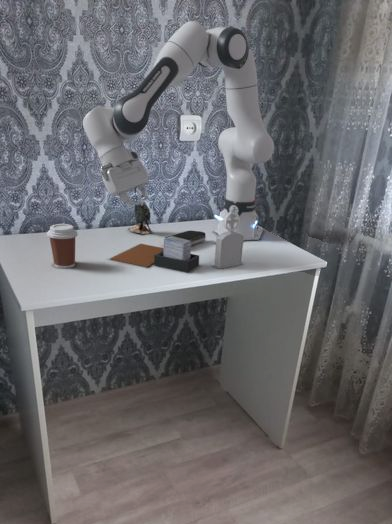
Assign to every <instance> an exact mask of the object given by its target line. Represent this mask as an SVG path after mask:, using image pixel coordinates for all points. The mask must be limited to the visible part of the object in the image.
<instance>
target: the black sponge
mask: <svg viewBox="0 0 392 524" xmlns="http://www.w3.org/2000/svg"><path fill="white" fill-rule="evenodd" d="M171 236H173V237H178V238H182V239H186V240H190V241H191V246H192V245H196V244H199V243H201V242H204V241H205V240H206V238H207V237H206V236H207V235H206V232H204V231H199V230H198V231H197V230H185V231H182V232H179V233H176V234H172V235H168V236H165V237H164V239H165V238H167V237H171Z"/></svg>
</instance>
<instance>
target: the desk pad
mask: <svg viewBox="0 0 392 524" xmlns="http://www.w3.org/2000/svg"><path fill="white" fill-rule="evenodd" d="M163 250H164V247H160V246H155V245H150V244H144V243H140V244H137V245H136V246H133V247H131V248H129V249H127V250H125V251H122V252H120V253H119V254H117V255H114V256H113V257H110V258H109V260H110V261H115V262H119V263H125V264H129V265H133V266H138V267H142V268H150V267H151V266H154V255H156V254H158V253H159V252H161V251H163Z"/></svg>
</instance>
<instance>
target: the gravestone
mask: <svg viewBox="0 0 392 524" xmlns="http://www.w3.org/2000/svg"><path fill="white" fill-rule="evenodd" d="M235 216H236V219H234V218H235ZM228 218H229V220H228ZM239 222H240V217H239V215H238V213H236V212H235V210H230V212H229V213H227V214H226V216H225V218H224V222H223V224H224V227H225V228H226V229H227V230H228V231H227V232H224V233H222V234H220V235H218V236H216V238H215V248H214V249H215V250H214V262H213V265H214V266H213V267H215V268H217V269H219V270H220V269H225V268H230V267H235V266H239V265H242V259H243V258H242V257H243V248H244V247H243V246H244V240H243V239H244V236H243V235H241V234H239V233H236V232H233V230H235V229H236V228H237V227H238V225H239ZM228 223H229V228H228V226H227V224H228ZM234 223H235V225H234Z"/></svg>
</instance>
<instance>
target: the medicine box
mask: <svg viewBox="0 0 392 524" xmlns="http://www.w3.org/2000/svg"><path fill="white" fill-rule="evenodd" d="M170 236H171V237H168V236H166V237H167V238H165V237H164V238H163V248H164V256H165V257H170V258H175V259H179V260H184V261H189V260H190V255H191V254H192V252H191V251H192V245H191V241H190V240H186V239H182V238H178V237H173V236H172V235H170Z"/></svg>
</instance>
